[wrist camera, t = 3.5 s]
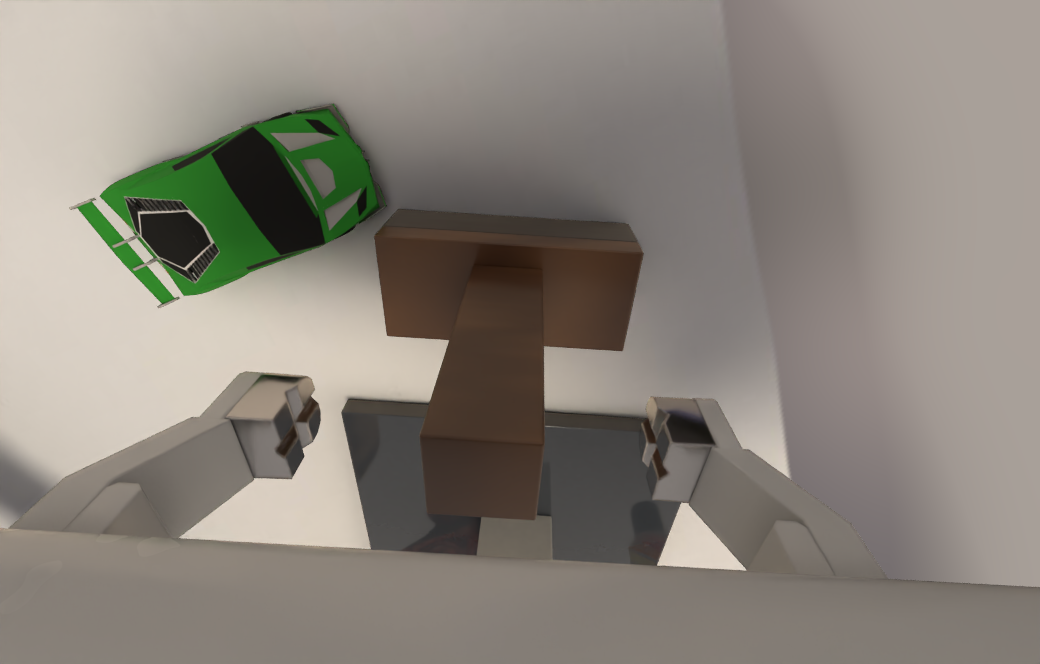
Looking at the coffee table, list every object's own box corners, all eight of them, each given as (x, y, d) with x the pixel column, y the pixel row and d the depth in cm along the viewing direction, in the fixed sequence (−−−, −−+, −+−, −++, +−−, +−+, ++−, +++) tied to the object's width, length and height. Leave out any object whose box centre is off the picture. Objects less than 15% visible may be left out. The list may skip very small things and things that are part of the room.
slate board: (701, 421, 23) (707, 436, 22) (639, 589, 31) (642, 604, 30) (348, 398, 23) (340, 412, 22) (383, 572, 31) (379, 586, 30)
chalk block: (551, 515, 25) (553, 586, 22) (545, 555, 28) (546, 625, 24) (482, 511, 25) (473, 581, 22) (481, 551, 28) (473, 620, 24)
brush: (629, 223, 17) (733, 424, 8) (612, 312, 19) (678, 553, 10) (397, 208, 17) (231, 391, 8) (406, 299, 19) (283, 526, 10)
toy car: (333, 85, 15) (302, 89, 13) (399, 214, 17) (381, 234, 15) (113, 185, 17) (60, 202, 15) (198, 288, 20) (161, 314, 18)
